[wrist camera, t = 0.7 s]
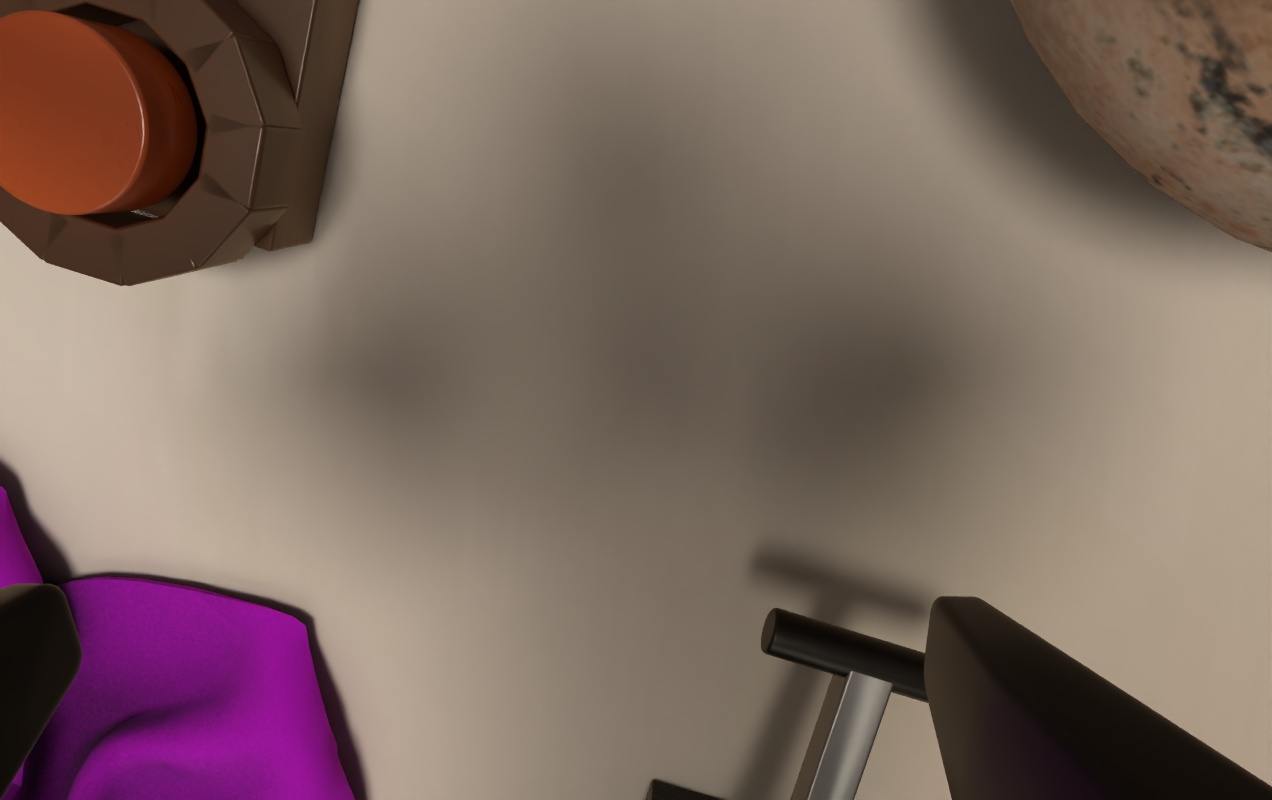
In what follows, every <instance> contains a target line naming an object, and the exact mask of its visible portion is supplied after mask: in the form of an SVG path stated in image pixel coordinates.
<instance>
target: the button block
mask: <svg viewBox="0 0 1272 800" xmlns="http://www.w3.org/2000/svg"><path fill="white" fill-rule="evenodd" d="M357 4H358V0H0V18H1V17H4V16H7V15H9V14H12V13H15V12H20V11H25V10H46V11H54V12H58V13H62V14H66V15H70V16H74V17H78V18H83V19H87V20H91V21H95V22H99V23H103V24H107V25H111V26H115V27H119V28H123V29H125V30H128V31H130V32H133V33H134V34H136V35H138V36H140V37H142V38H144V39H145V40H146V41H148V42H149V43H151V44H152V45H153V46H155V47H156V48H157V49H158V50H159V51H160V52H161V53H162V54H163V55H164V56H165V57H166V58H167V59H168V60H169V61H170V62H171V64H172V65H173V66H174V67H175V69H176V70H177V72H178V73H179V75H180V76H181V78H182V80H183V81H184V83H185V85H186V87H187V89H188V92H189V94H190V96H191V99H192V102H193V106H194V109H195V114H196V120H197V147H196V151H195V156H194V160H193V162H192V165H191V168H190V170H189V172H188V173H187V175H186V177H185V179H184V180H183V181H182V183H181V184H180V185H179V187H178V188H177V189H176V190H175V191H174V192H173V193H172V194H171V195H169V196H168V197H167V198H165V199H164V200H162V201H161V202H159V203H157V204H155V205H153V206H150V207H147V208H143V209H138V210H140V211H143V212H146V213H150V214H153V215H156V216H159V217H157V218H150V217H146V216H143V215H140V214H137V213H134V212H130V211H121V212H109V213H98V214H86V215H62V214H55V213H51V212H47V211H43V210H41V209H38V208H35V207H33V206H31V205H29V204H27V203H25V202H23V201H21V200H19V199H18V198H16V197H15V196H13V195H12V194H10V193H9V192H7V191H6V190H5V189H4V188H3V187H1V186H0V222H1V223H2V224H4V225H5V226H6V227H7V228H8V229H9V230H10V231H11V232H12V233H13V234H14V235H15V236H16V237H17V238H19V239H20V240H21V241H22V242H23V243H24V244H25V245H26V246H27V247H28V248H29V249H30V250H31V251H32V252H34V253H35V254H36V255H37V256H38V257H39V258H40V259H42V260H44V261H45V262H47V263H49V264H52V265H56V266H59V267H62V268H65V269H68V270H72V271H75V272H78V273H81V274H85V275H88V276H91V277H94V278H97V279H101V280H104V281H107V282H110V283H114V284H117V285H120V286H124V285H127V286H132V285H136V284H141V283H145V282H150V281H154V280H159V279H163V278H168V277H172V276H176V275H181V274H185V273H189V272H193V271H198V270H202V269H206V268H210V267H215V266H219V265H223V264H227V263H232V262H236V261H237V260H239V259H242V258H243V257H244V256H245V255H246V254H247V253H248V252H249V251H250V249H251V248H252V247H253V246H255V247H258V248H261V249H264V250H267V251H273V250H278V249H283V248H287V247H292V246H297V245H302V244H306V243H310V242H311V239H312V234H313V229H314V224H315V219H316V214H317V209H318V203H319V198H320V193H321V188H322V183H323V178H324V173H325V168H326V163H327V157H328V152H329V147H330V142H331V137H332V132H333V127H334V122H335V116H336V111H337V106H338V101H339V96H340V91H341V86H342V81H343V75H344V70H345V65H346V60H347V55H348V50H349V45H350V40H351V35H352V29H353V24H354V19H355V14H356V9H357Z"/></svg>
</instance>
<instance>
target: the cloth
mask: <svg viewBox="0 0 1272 800" xmlns="http://www.w3.org/2000/svg"><path fill="white" fill-rule="evenodd" d="M13 584H43V581H42V577H41V575H40V573H39V570H38V568H37V566H36V564H35V562H34V560H33V557H32V555H31V553H30V551H29V549H28V547H27V545H26V543H25V541H24V539H23V537H22V535H21V532H20V529H19V527H18V524H17V521H16V518H15V515H14V513H13V510H12V507H11V504H10V501H9V498H8V495H7V492H6V490H5V489H4V488H2V487H1V486H0V589H1V588H4V587H7V586H10V585H13ZM56 586H57V587H59V588H60V589H61V590H62V591H63V592H64V594H65V596H66V598H67V602H68V605H69V608H70V611H71V615H72V618H73V621H74V624H75V628H76V631H77V634H78V637H79V641H80V644H81V648H82V660H81V665H80V668H79V671H78V673H77V675H76V677H75V679H74V680H73V682H72V684H71V685H70V687H69V689H68V690H67V692H66V694H65V695H64V697H63V699H62V700H61V702H60V704H59V705H58V707H57V708H56V710H55V712H54V713H53V715H52V717H51V718H50V720H49V722H48V723H47V725H46V727H45V728H44V730H43V732H42V733H41V735H40V737H39V738H38V740H37V742H36V743H35V745H34V747H33V748H32V750H31V752H30V753H29V755H28V757H27V758H26V760H25V761H24V763H23V765H22V766H21V768H20V770H19V771H18V773H17V775H16V776H15V778H14V780H13V781H12V783H11V785H10V786H9V788H8V789H7V791H6V793H5V794H4V796H3V797H2V799H1V800H355V799H354V796H353V794H352V791H351V789H350V786H349V784H348V781H347V778H346V776H345V773H344V771H343V768H342V766H341V763H340V760H339V758H338V755H337V743H336V741H335V738H334V735H333V733H332V730H331V727H330V725H329V722H328V719H327V715H326V711H325V708H324V704H323V700H322V696H321V693H320V689H319V685H318V682H317V678H316V674H315V670H314V666H313V661H312V657H311V653H310V649H309V643H308V636H307V629H306V626H305V625H304V624H303V623H301V622H300V621H298V620H297V619H296V618H295V617H294V616H291V615H289V614H286V613H283V612H280V611H277V610H275V609H272V608H269V607H266V606H262V605H258V604H255V603H251V602H247V601H244V600H240V599H236V598H233V597H229V596H225V595H222V594H218V593H214V592H211V591H207V590H203V589H200V588H196V587H190V586H184V585H177V584H171V583H165V582H158V581H152V580H146V579H139V578H120V577H94V578H86V579H78V580H74V581H70V582H67V583H63V584H60V585H56Z"/></svg>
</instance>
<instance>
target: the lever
mask: <svg viewBox="0 0 1272 800" xmlns="http://www.w3.org/2000/svg"><path fill="white" fill-rule="evenodd" d="M761 649H762V651H763V652H764V653H765V654H768V655H771V656H774V657H778V658H781V659H784V660H788V661H791V662H794V663H797V664H801V665H804V666H807V667H811V668H814V669H817V670H820V671H824V672H827V673H830V674H833V675H832V678H831V681H830V684H829V687H828V690H827V693H826V696H825V699H824V702H823V705H822V708H821V711H820V714H819V717H818V720H817V722H816V725H815V728H814V731H813V734H812V737H811V740H810V743H809V746H808V749H807V752H806V755H805V758H804V761H803V764H802V767H801V770H800V772H799V775H798V778H797V781H796V784H795V787H794V790H793V793H792V796H791V799H790V800H854V798H855V795H856V792H857V789H858V786H859V783H860V780H861V777H862V774H863V772H864V769H865V766H866V763H867V760H868V757H869V754H870V751H871V748H872V745H873V743H874V740H875V737H876V734H877V731H878V728H879V725H880V722H881V719H882V717H883V714H884V711H885V708H886V705H887V702H888V699H889V696H890V693H891V692H893V693H896V694H900V695H903V696H906V697H909V698H913V699H916V700H919V701H923V702H926V703H929V702H928V698H927V694H926V689H925V683H924V659H925V653H923V652H920V651H916V650H913V649H910V648H906V647H903V646H900V645H897V644H893V643H890V642H887V641H884V640H880V639H877V638H874V637H870V636H867V635H864V634H861V633H857V632H854V631H851V630H848V629H844V628H841V627H838V626H834V625H831V624H828V623H825V622H821V621H818V620H815V619H812V618H808V617H805V616H802V615H799V614H795V613H792V612H789V611H785V610H782V609H779V608H773V609H772V610H771V611H770V613H769V614H768V616H767V618H766V621H765V624H764V627H763V631H762V637H761Z"/></svg>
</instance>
